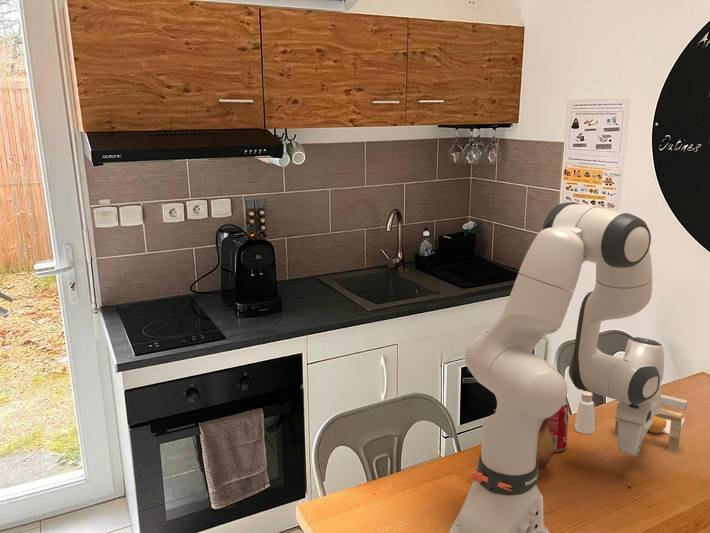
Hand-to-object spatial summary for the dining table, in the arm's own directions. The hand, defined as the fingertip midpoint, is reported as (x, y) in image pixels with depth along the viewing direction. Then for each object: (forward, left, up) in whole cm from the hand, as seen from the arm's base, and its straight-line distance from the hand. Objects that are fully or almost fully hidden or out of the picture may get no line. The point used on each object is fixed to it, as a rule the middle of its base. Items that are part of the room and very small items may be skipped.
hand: (634, 453), depth 145 cm
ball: (+20, 0, 0) cm, 20 cm away
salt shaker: (+10, +15, -3) cm, 18 cm away
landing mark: (+27, 0, -3) cm, 27 cm away
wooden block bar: (+40, 0, -3) cm, 40 cm away
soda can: (-4, +19, -3) cm, 20 cm away
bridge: (+13, 0, -3) cm, 13 cm away
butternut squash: (-19, +21, -3) cm, 29 cm away
